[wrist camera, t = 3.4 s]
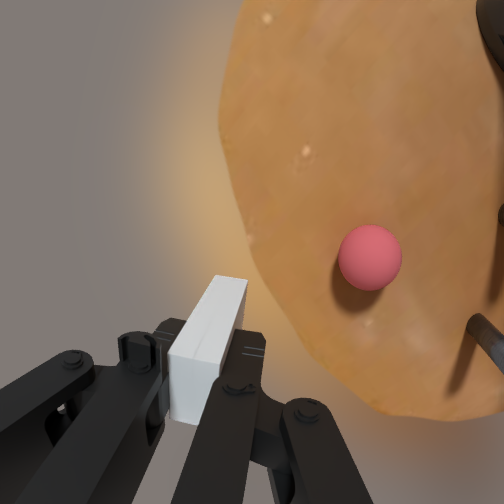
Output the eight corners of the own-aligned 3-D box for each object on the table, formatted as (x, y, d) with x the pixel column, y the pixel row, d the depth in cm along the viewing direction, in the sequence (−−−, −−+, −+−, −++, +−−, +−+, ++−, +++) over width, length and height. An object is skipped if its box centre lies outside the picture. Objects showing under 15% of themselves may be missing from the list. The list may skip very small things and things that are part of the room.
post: (471, 312, 29) (511, 354, 20) (487, 314, 28) (528, 353, 20) (463, 333, 29) (500, 377, 21) (479, 334, 29) (516, 376, 21)
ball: (340, 214, 28) (351, 227, 23) (396, 224, 27) (417, 238, 22) (329, 273, 29) (336, 296, 24) (383, 280, 29) (400, 304, 24)
